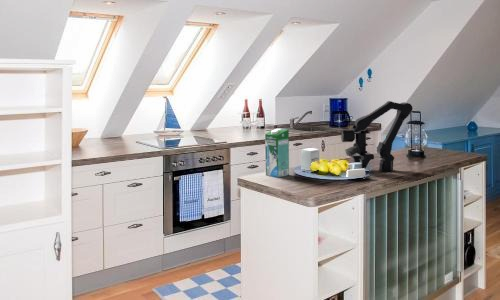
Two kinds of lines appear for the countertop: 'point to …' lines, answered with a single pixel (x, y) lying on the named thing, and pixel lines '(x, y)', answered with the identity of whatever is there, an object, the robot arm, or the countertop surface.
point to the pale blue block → (359, 165)
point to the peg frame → (354, 172)
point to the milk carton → (277, 152)
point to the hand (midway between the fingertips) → (360, 169)
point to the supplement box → (309, 157)
